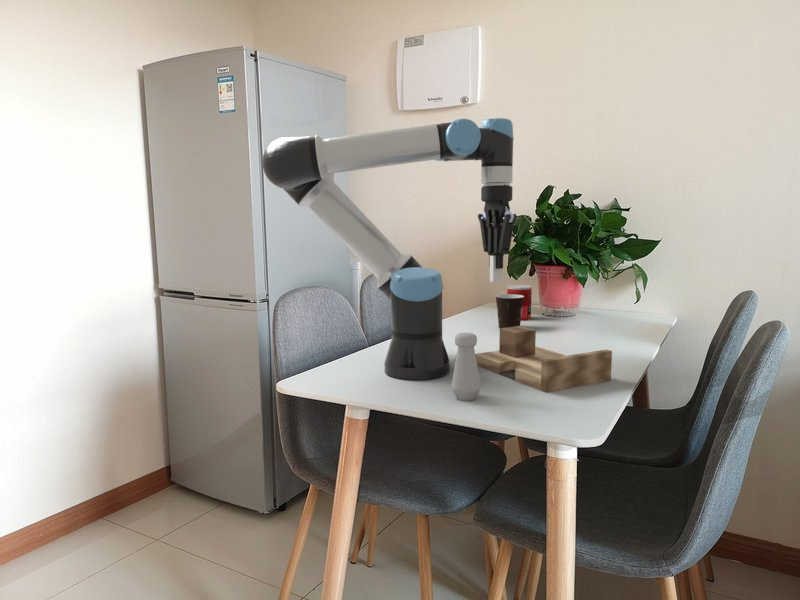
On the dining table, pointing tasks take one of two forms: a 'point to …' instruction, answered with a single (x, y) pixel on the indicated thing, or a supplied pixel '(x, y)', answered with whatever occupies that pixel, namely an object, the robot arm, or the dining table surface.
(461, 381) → the salt shaker
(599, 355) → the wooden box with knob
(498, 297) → the coffee mug
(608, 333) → the dining table surface
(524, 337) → the walnut block
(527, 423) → the dining table surface
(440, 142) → the robot arm
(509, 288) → the canned food
